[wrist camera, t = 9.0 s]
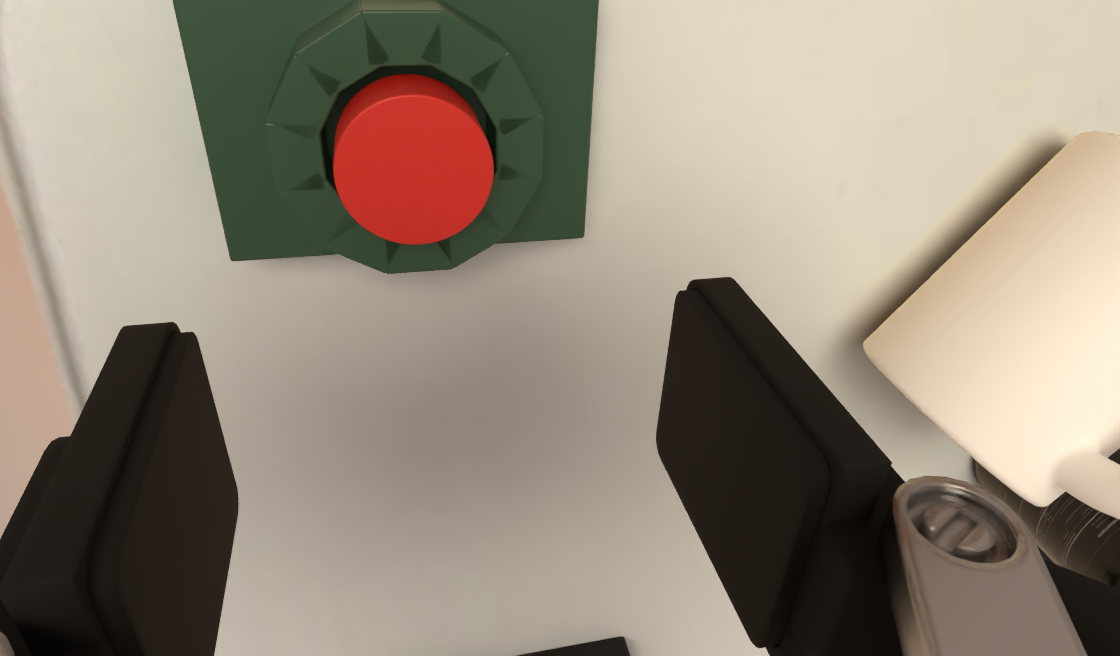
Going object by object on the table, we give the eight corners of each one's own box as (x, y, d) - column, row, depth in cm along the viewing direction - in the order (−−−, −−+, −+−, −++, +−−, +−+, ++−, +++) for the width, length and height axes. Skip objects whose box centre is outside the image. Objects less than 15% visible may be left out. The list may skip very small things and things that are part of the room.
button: (343, 219, 19) (343, 250, 18) (325, 74, 17) (323, 96, 16) (484, 211, 20) (494, 240, 18) (482, 71, 18) (493, 91, 16)
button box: (240, 228, 22) (220, 295, 19) (185, -32, 18) (149, -4, 15) (567, 209, 24) (600, 266, 21) (578, -28, 21) (621, -2, 17)
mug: (1129, 219, 30) (1500, 402, 20) (932, 397, 33) (1172, 630, 24) (1039, 99, 26) (1448, 257, 16) (824, 315, 29) (1060, 556, 20)
